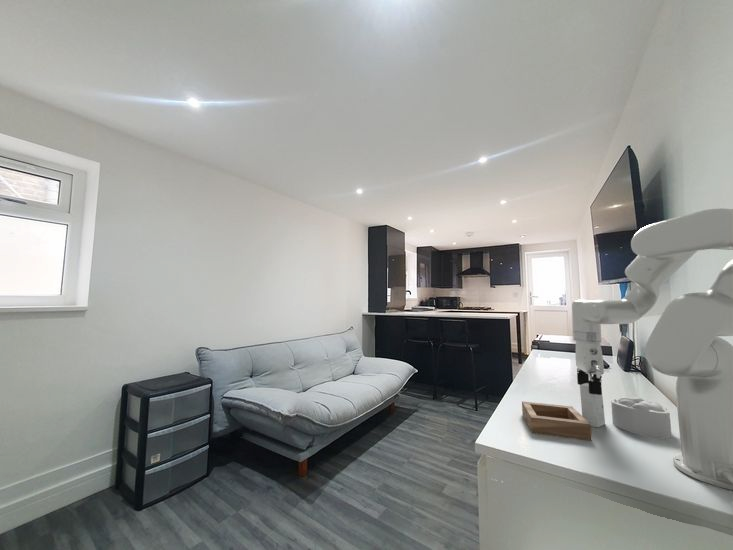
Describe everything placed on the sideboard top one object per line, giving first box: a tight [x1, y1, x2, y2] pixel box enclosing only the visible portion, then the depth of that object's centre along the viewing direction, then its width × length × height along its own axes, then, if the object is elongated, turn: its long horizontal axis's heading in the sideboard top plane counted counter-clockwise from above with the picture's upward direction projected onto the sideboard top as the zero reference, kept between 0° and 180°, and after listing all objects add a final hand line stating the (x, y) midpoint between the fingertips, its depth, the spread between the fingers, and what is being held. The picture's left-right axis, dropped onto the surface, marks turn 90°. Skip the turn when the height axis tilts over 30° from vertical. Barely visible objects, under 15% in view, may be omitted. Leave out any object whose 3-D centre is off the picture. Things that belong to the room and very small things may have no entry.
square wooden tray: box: [521, 401, 593, 441], centre depth 91 cm, size 15×15×4 cm
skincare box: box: [579, 383, 606, 429], centre depth 94 cm, size 6×4×12 cm
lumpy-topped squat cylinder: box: [611, 396, 673, 440], centre depth 90 cm, size 10×13×9 cm
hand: (589, 389), depth 95 cm, fingers open, 9 cm apart
